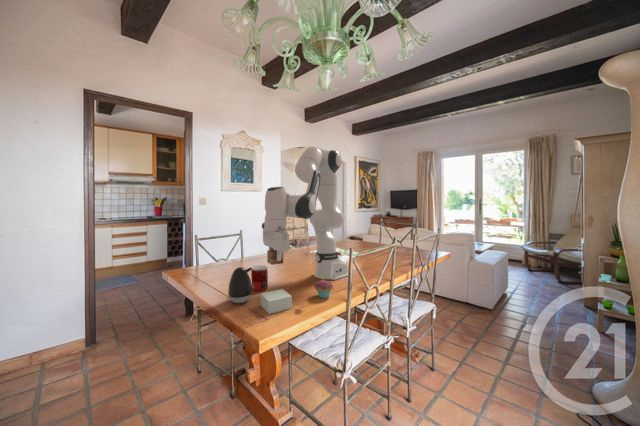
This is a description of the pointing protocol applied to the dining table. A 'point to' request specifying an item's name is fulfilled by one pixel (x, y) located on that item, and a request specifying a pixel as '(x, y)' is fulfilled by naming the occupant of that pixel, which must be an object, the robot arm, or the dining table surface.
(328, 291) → the cupcake
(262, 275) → the canned food
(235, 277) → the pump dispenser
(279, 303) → the pedestal
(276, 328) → the dining table surface
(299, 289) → the dining table surface
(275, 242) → the robot arm
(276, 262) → the walnut cube
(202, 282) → the dining table surface
